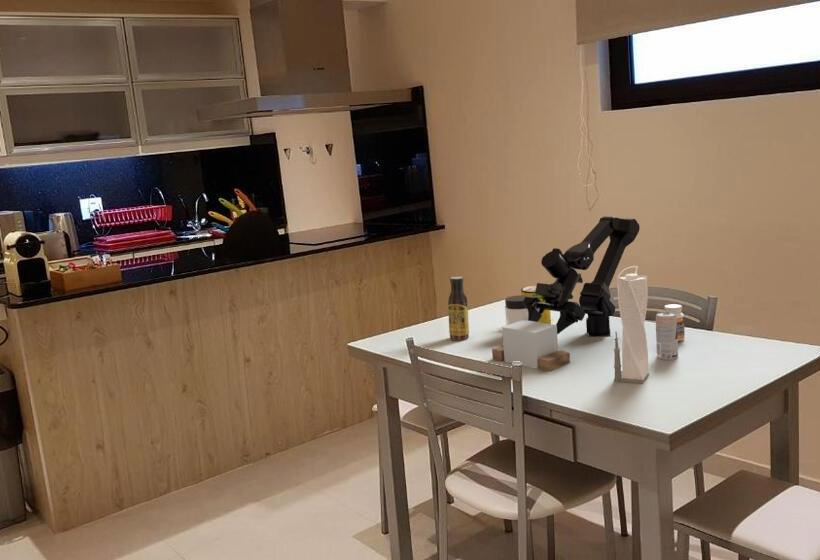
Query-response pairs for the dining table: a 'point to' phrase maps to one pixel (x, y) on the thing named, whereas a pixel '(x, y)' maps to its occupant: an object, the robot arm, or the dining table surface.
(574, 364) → the dining table surface
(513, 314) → the jar
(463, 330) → the sauce bottle
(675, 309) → the pill bottle
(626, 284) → the skyscraper
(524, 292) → the yellow can
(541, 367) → the pair of brown bars
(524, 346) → the block
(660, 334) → the energy drink
